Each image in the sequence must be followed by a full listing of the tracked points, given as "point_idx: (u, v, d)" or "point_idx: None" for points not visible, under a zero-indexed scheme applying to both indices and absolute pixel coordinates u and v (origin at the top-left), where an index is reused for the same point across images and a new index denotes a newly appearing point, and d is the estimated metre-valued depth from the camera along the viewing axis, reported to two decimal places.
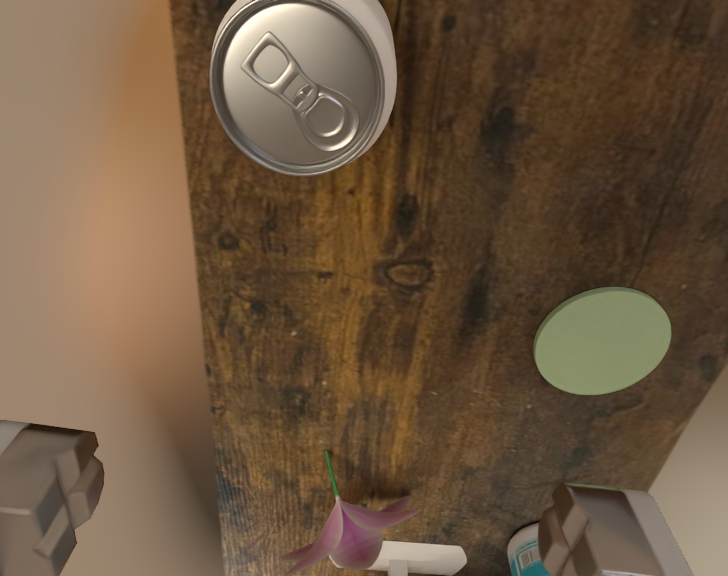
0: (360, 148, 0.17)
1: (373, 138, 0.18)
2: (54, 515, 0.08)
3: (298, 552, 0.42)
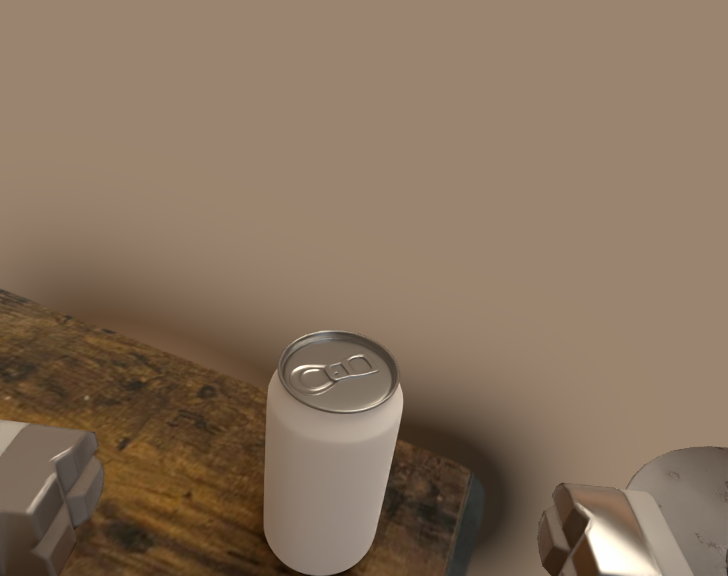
0: (285, 384, 0.22)
1: (281, 408, 0.22)
2: (54, 515, 0.08)
3: None
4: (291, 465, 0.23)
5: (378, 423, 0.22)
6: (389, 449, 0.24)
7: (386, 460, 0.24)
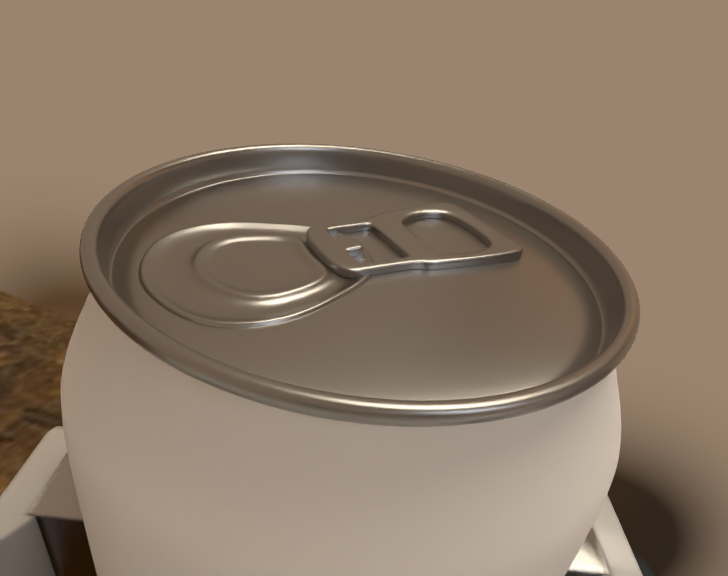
0: (96, 265, 0.04)
1: (84, 394, 0.04)
2: None
3: None
4: None
5: (577, 474, 0.04)
6: None
7: None
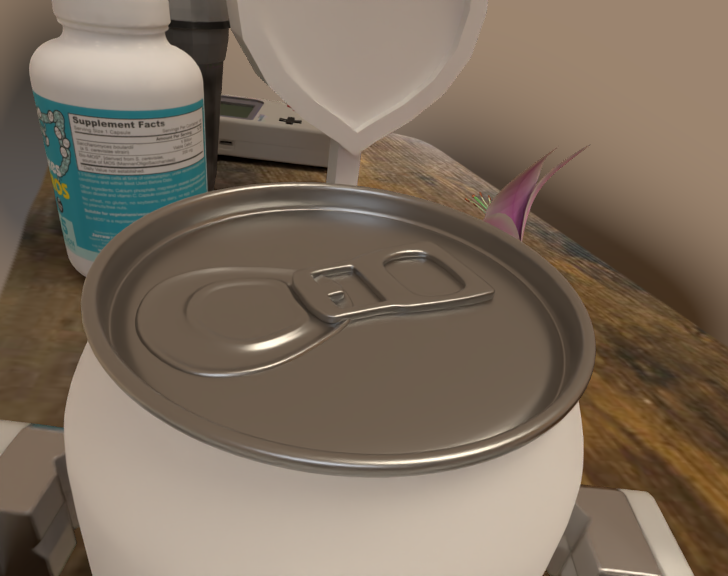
0: (96, 321, 0.05)
1: (85, 436, 0.05)
2: (54, 515, 0.08)
3: None
4: None
5: (532, 511, 0.05)
6: None
7: None
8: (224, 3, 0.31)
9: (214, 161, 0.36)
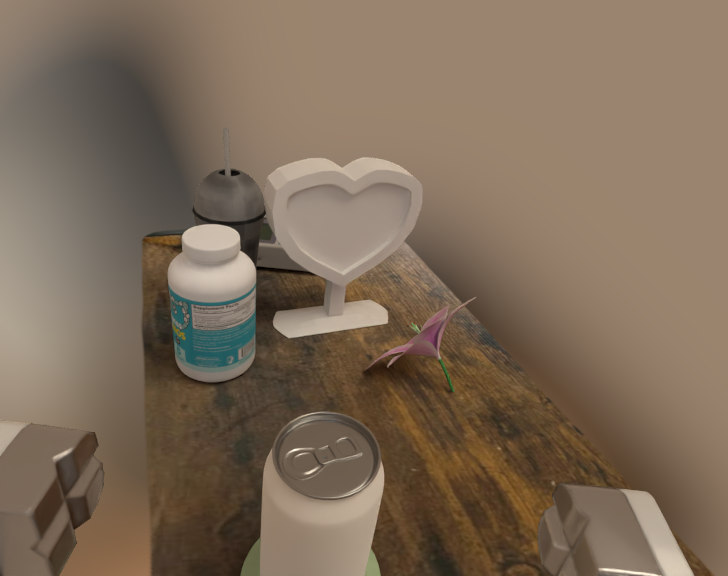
0: (278, 470, 0.25)
1: (275, 491, 0.25)
2: (54, 515, 0.08)
3: (442, 310, 0.53)
4: (283, 539, 0.26)
5: (360, 505, 0.25)
6: (371, 523, 0.27)
7: (368, 532, 0.27)
8: (262, 202, 0.52)
9: None
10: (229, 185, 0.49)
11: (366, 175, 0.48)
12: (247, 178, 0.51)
